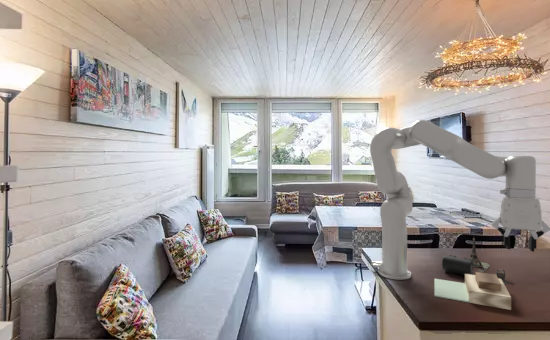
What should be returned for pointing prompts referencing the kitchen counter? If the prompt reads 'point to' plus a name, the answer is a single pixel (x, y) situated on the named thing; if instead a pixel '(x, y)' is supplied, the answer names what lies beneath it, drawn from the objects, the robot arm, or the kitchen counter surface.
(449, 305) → the kitchen counter surface
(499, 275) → the strap clip
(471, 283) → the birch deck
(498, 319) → the kitchen counter surface
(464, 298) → the mat
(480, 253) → the kitchen counter surface
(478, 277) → the brown box
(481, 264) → the eiffel tower figurine
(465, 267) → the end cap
